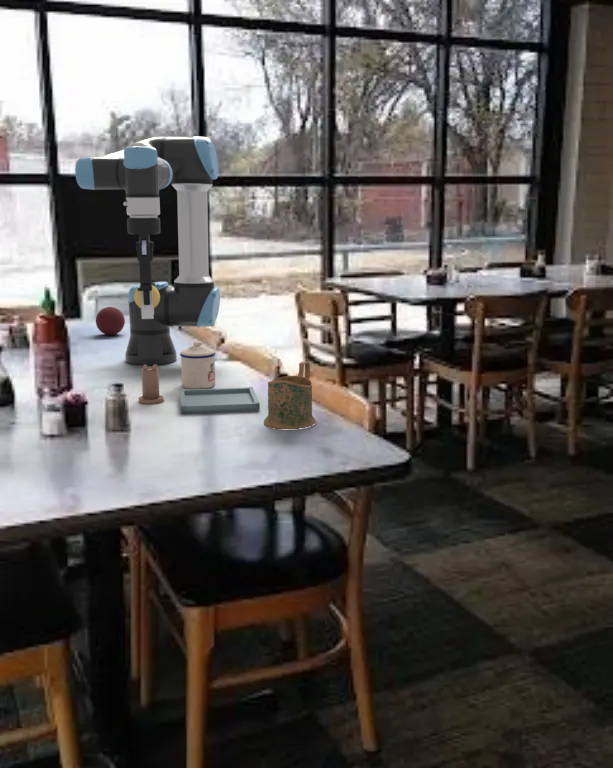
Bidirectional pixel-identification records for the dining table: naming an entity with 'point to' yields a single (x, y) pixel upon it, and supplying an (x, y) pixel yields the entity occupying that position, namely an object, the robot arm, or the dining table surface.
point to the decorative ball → (110, 320)
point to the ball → (155, 297)
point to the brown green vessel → (290, 401)
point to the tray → (218, 400)
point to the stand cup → (150, 386)
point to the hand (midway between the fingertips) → (148, 316)
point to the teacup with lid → (198, 367)
